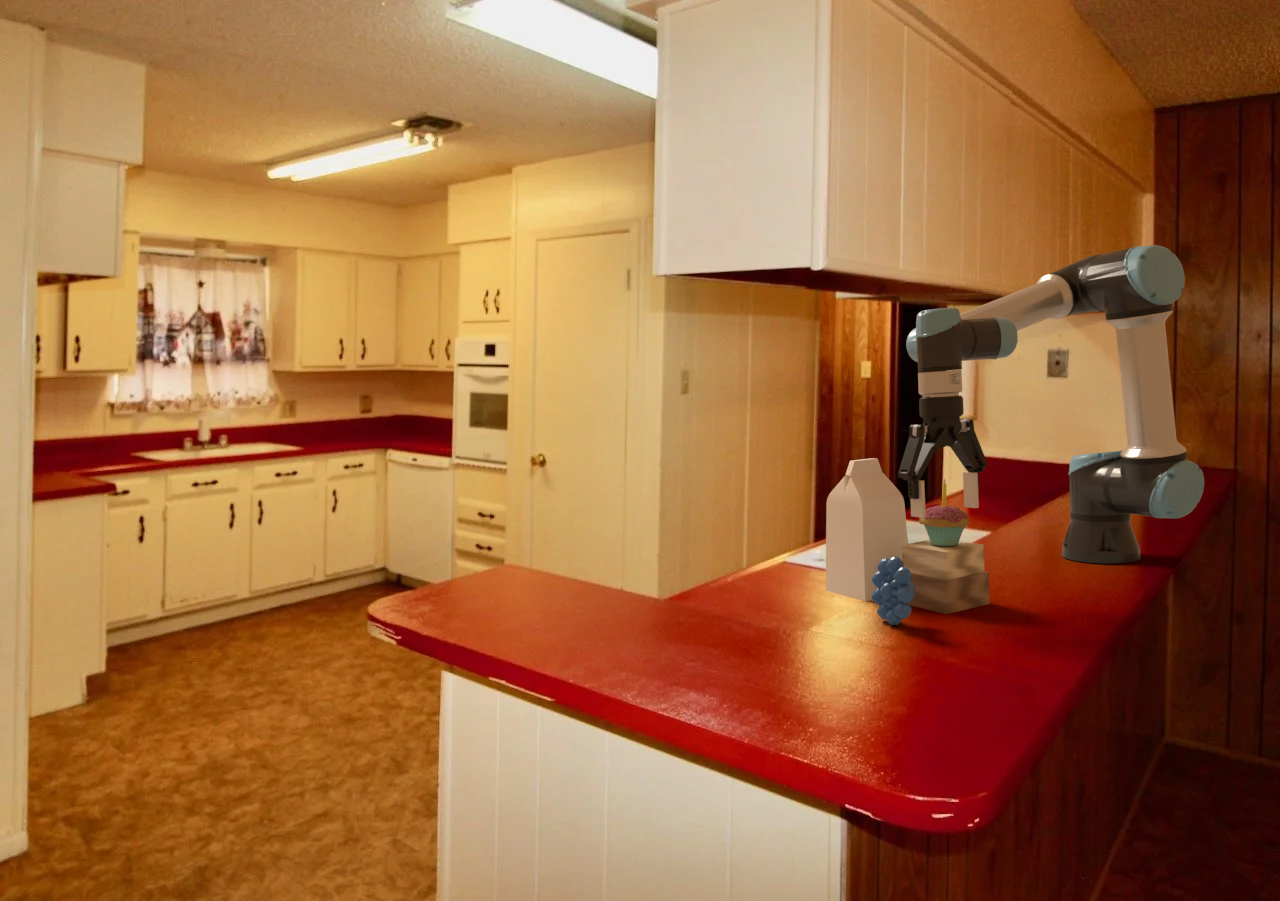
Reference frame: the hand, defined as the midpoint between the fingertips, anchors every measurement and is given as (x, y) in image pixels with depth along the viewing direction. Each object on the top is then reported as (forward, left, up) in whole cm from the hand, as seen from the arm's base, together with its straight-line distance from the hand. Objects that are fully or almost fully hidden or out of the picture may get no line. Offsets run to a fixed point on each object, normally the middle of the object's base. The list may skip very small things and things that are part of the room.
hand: (945, 512), depth 161 cm
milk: (+4, -16, -17) cm, 24 cm away
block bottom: (+1, 0, -17) cm, 17 cm away
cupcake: (+1, 0, -6) cm, 6 cm away
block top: (+1, 0, -11) cm, 11 cm away
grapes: (+17, +5, -17) cm, 25 cm away
